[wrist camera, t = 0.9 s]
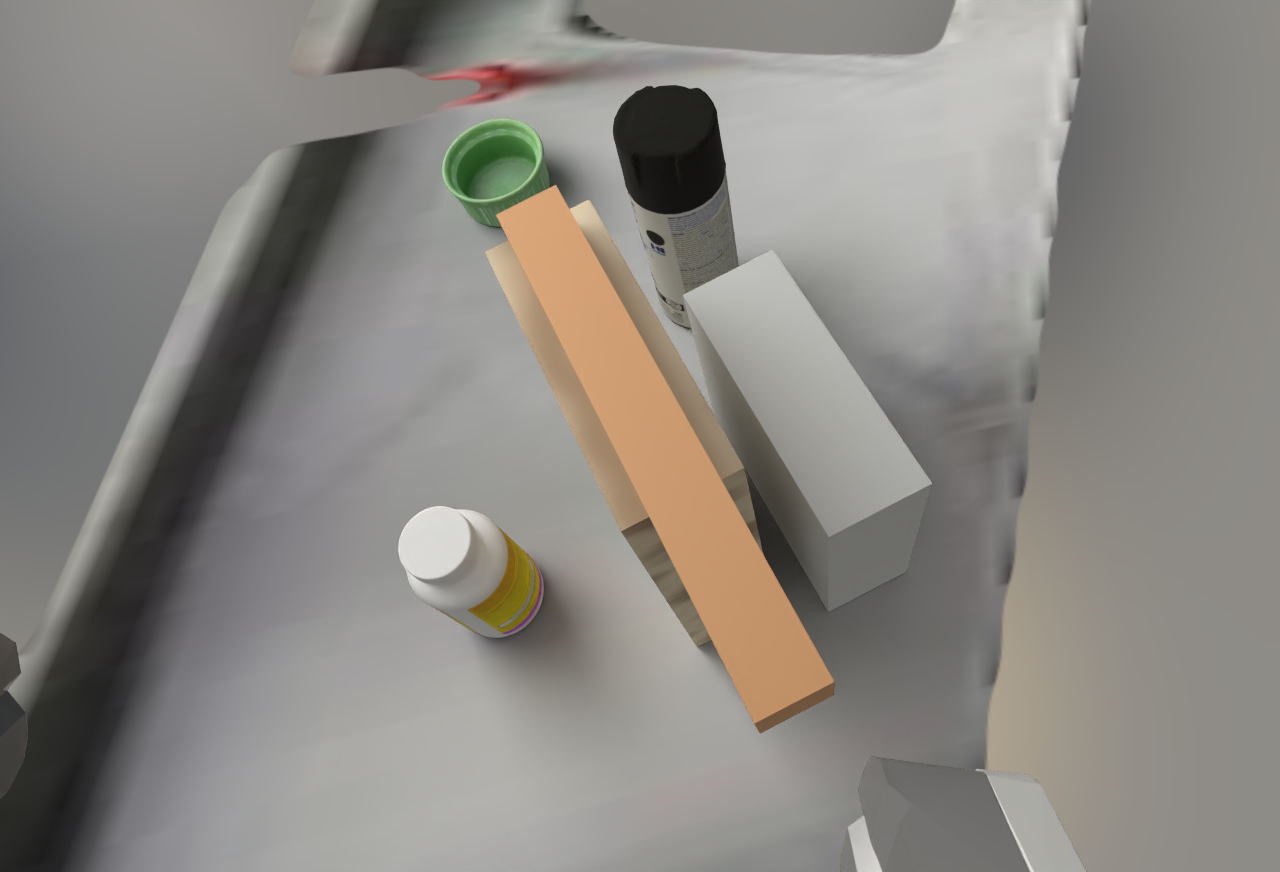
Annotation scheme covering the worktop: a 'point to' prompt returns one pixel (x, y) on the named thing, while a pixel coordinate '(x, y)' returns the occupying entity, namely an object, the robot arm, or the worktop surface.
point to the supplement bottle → (471, 571)
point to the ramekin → (495, 168)
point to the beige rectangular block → (589, 426)
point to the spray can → (677, 189)
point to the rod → (669, 468)
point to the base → (807, 430)
